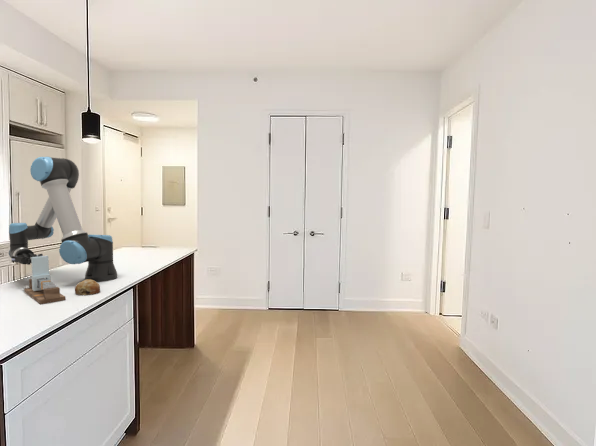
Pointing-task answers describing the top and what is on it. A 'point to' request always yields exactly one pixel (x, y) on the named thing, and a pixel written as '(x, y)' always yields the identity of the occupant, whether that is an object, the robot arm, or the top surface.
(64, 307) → the top surface
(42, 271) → the slotted grey-blue plate
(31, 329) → the top surface
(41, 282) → the grey square bar
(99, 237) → the robot arm
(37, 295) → the base board
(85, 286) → the bread roll
